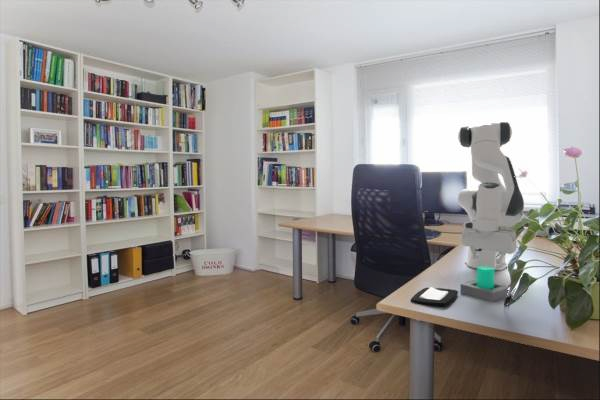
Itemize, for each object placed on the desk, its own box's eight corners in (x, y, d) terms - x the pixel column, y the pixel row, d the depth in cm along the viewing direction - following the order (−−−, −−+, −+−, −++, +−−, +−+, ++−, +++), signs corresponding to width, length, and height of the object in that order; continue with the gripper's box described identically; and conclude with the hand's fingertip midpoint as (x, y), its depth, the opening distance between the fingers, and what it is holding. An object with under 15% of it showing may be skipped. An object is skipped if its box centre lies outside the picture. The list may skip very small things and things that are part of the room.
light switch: (424, 284, 155) (460, 287, 146) (424, 291, 155) (460, 294, 147) (406, 297, 139) (446, 301, 130) (407, 305, 139) (447, 310, 130)
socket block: (479, 287, 156) (479, 278, 156) (511, 295, 145) (512, 286, 145) (460, 292, 149) (460, 283, 149) (492, 302, 138) (492, 292, 138)
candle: (496, 296, 144) (498, 265, 143) (481, 297, 144) (482, 265, 143) (488, 291, 150) (489, 261, 149) (473, 292, 150) (474, 262, 149)
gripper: (520, 228, 138) (519, 265, 139) (468, 221, 155) (467, 255, 156) (511, 229, 134) (509, 268, 136) (459, 223, 152) (458, 257, 153)
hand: (487, 261), depth 146 cm, fingers open, 8 cm apart
